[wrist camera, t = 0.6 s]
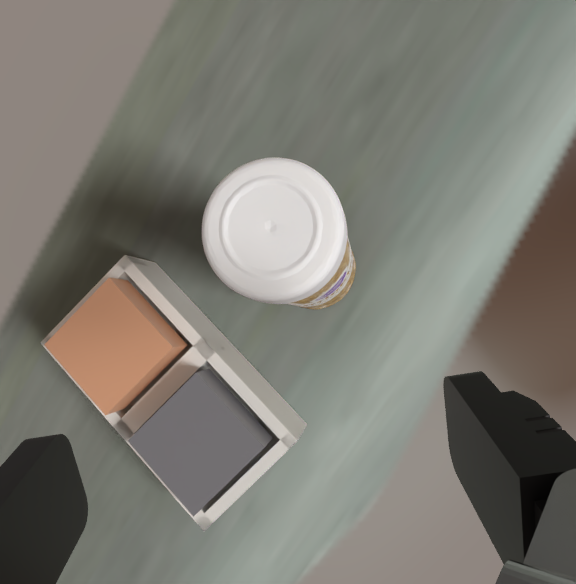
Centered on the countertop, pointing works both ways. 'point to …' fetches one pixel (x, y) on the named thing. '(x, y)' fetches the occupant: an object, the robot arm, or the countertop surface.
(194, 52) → the countertop surface
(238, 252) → the sprinkles bottle
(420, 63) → the countertop surface
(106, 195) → the countertop surface
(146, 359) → the key terracotta
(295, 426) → the keypad
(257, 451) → the key charcoal
